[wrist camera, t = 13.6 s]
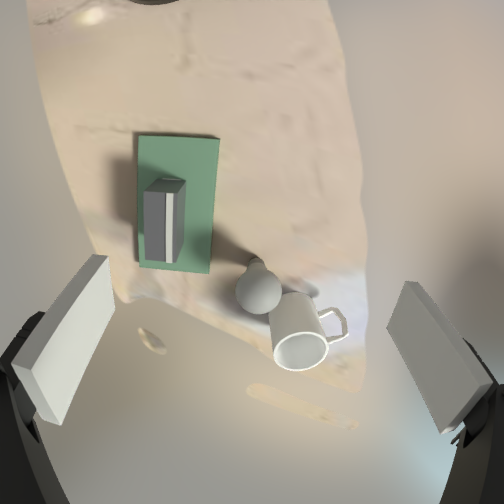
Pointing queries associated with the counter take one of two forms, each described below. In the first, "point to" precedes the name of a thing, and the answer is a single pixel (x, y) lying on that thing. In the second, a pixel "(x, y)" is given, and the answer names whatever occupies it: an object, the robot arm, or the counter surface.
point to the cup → (300, 332)
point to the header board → (197, 193)
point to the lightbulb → (258, 288)
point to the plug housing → (164, 219)
